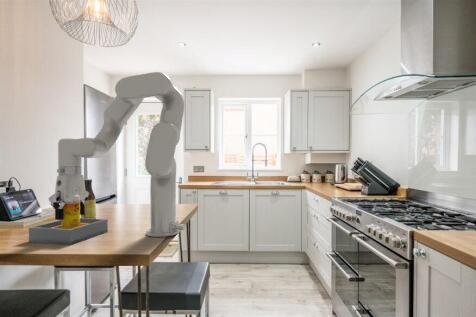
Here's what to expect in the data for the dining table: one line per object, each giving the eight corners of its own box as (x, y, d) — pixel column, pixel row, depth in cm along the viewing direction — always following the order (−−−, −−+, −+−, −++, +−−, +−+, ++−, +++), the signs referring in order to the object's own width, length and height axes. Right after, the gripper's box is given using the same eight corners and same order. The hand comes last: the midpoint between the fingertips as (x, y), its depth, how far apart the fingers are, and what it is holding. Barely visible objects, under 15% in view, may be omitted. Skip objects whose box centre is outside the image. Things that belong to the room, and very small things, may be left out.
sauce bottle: (99, 221, 135) (98, 178, 135) (91, 224, 128) (90, 179, 128) (86, 221, 135) (85, 179, 135) (77, 224, 129) (76, 179, 129)
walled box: (107, 231, 114) (107, 219, 114) (70, 245, 96) (70, 230, 96) (70, 229, 118) (70, 217, 118) (28, 241, 101) (28, 227, 101)
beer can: (72, 236, 104) (71, 195, 104) (57, 235, 105) (57, 194, 105) (83, 232, 110) (83, 193, 110) (69, 231, 111) (69, 192, 111)
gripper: (58, 172, 98) (58, 222, 98) (95, 170, 115) (95, 213, 115) (41, 172, 100) (41, 221, 100) (80, 170, 117) (80, 212, 117)
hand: (70, 217), depth 107 cm, fingers open, 9 cm apart
